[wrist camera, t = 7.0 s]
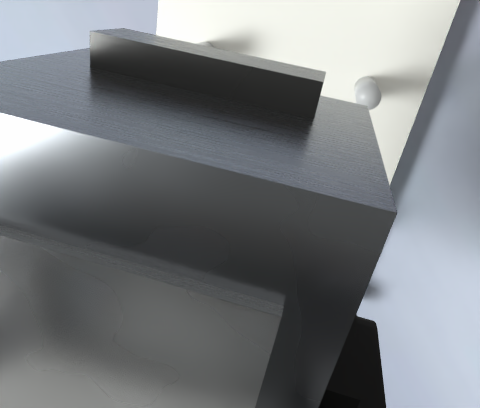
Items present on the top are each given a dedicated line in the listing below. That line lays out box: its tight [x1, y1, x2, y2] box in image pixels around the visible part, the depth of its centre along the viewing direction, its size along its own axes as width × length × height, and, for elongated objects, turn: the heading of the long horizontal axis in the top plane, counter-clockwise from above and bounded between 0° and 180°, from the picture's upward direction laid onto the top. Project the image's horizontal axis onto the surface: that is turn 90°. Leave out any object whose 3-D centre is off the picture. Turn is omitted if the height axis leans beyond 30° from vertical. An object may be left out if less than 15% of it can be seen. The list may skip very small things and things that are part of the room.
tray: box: [156, 0, 460, 185], centre depth 20 cm, size 13×18×4 cm
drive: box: [0, 28, 397, 408], centre depth 9 cm, size 6×11×5 cm, turn 170°
